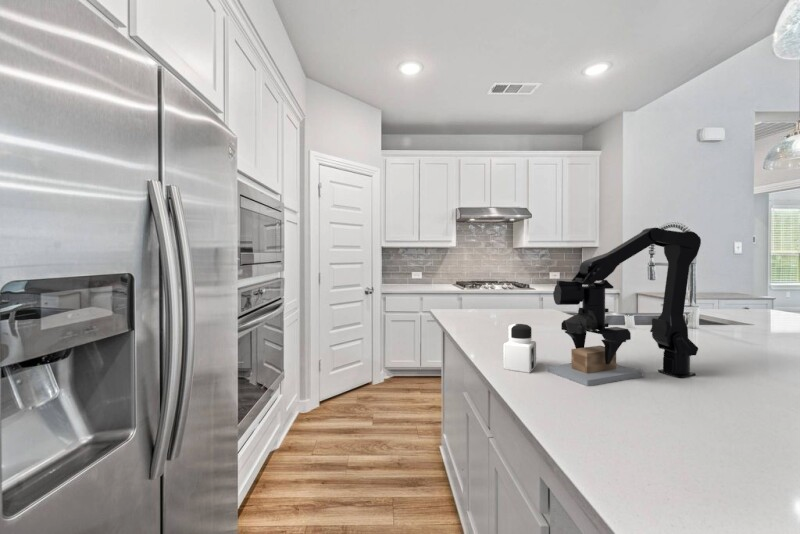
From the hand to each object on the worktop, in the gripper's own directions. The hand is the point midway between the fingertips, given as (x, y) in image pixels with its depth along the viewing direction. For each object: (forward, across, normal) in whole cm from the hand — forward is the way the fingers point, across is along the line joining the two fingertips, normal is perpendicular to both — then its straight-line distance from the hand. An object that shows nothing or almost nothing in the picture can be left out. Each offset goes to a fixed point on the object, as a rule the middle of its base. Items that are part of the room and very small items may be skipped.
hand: (593, 360), depth 109 cm
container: (+4, -13, -15) cm, 20 cm away
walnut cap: (+2, 0, 0) cm, 3 cm away
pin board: (+4, 0, 0) cm, 4 cm away
